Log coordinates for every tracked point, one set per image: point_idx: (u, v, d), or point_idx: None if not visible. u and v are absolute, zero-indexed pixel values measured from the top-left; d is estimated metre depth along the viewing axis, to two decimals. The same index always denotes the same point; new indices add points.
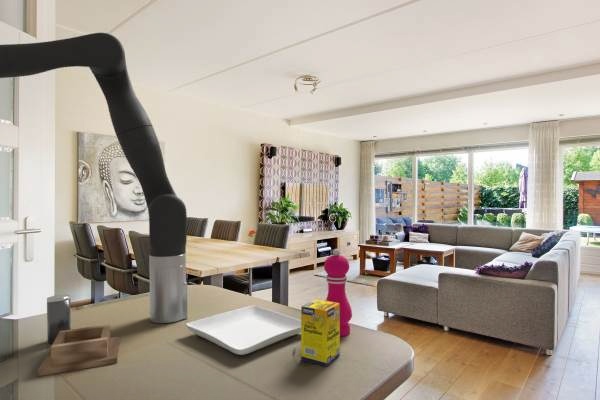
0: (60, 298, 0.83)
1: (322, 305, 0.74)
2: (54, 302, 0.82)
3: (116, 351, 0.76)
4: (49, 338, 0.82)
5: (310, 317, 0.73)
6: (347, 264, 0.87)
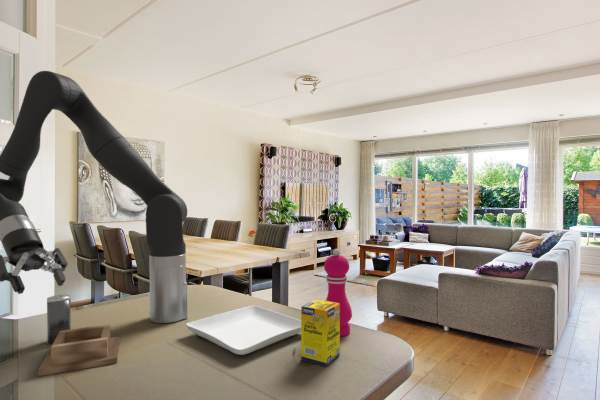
0: (60, 298, 0.83)
1: (322, 305, 0.74)
2: (54, 302, 0.82)
3: (116, 351, 0.76)
4: (49, 338, 0.82)
5: (310, 317, 0.73)
6: (347, 264, 0.87)
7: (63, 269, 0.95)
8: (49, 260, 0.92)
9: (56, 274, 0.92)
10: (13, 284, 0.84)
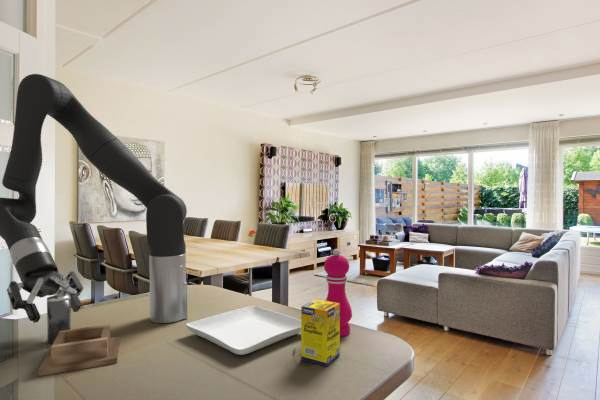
0: (60, 298, 0.83)
1: (322, 305, 0.74)
2: (54, 302, 0.82)
3: (116, 351, 0.76)
4: (49, 338, 0.82)
5: (310, 317, 0.73)
6: (347, 264, 0.87)
7: (78, 294, 0.92)
8: (65, 285, 0.89)
9: (71, 300, 0.89)
10: (28, 312, 0.81)
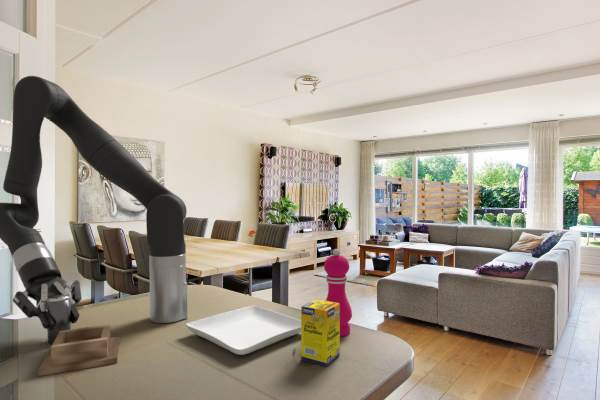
0: (60, 298, 0.83)
1: (322, 305, 0.74)
2: (54, 302, 0.82)
3: (116, 351, 0.76)
4: (49, 338, 0.82)
5: (310, 317, 0.73)
6: (347, 264, 0.87)
7: (76, 304, 0.89)
8: (65, 293, 0.87)
9: None
10: (42, 320, 0.81)
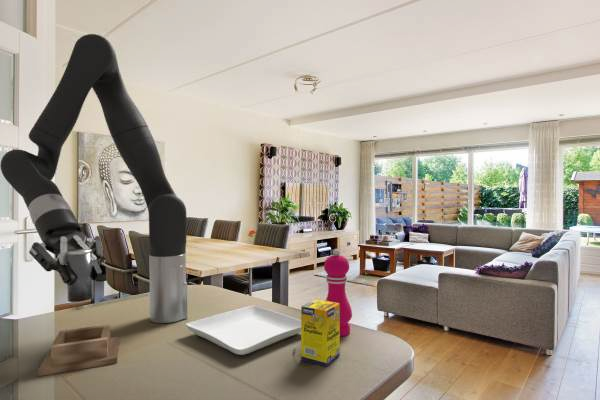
0: (81, 251, 0.75)
1: (322, 305, 0.74)
2: (75, 255, 0.74)
3: (116, 351, 0.76)
4: (69, 295, 0.74)
5: (310, 317, 0.73)
6: (347, 264, 0.87)
7: (98, 261, 0.81)
8: (85, 248, 0.79)
9: None
10: (62, 274, 0.73)
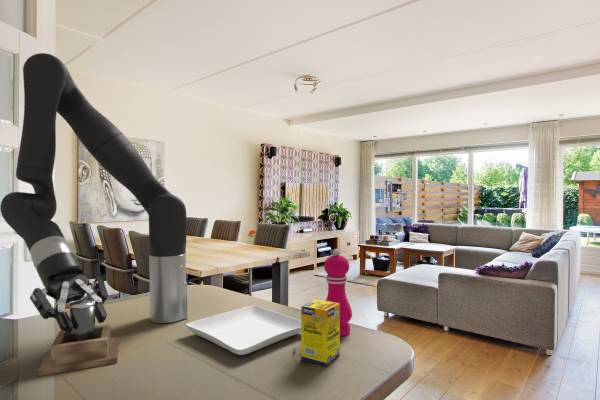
0: (85, 304, 0.75)
1: (322, 305, 0.74)
2: (78, 308, 0.74)
3: (116, 351, 0.76)
4: None
5: (310, 317, 0.73)
6: (347, 264, 0.87)
7: (103, 302, 0.81)
8: (90, 291, 0.79)
9: (96, 309, 0.78)
10: (60, 322, 0.72)
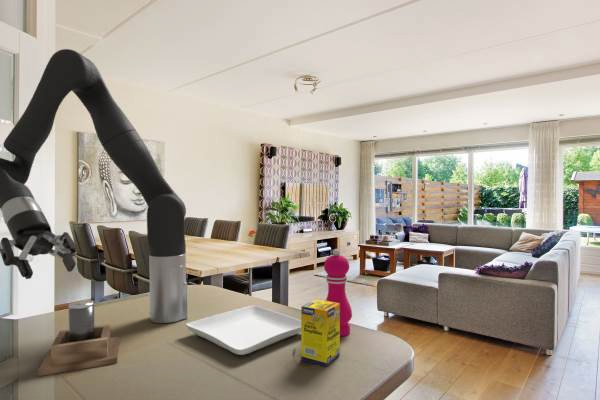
0: (83, 304, 0.75)
1: (322, 305, 0.74)
2: (77, 309, 0.74)
3: (116, 351, 0.76)
4: None
5: (310, 317, 0.73)
6: (347, 264, 0.87)
7: (72, 254, 0.89)
8: (58, 244, 0.87)
9: (65, 259, 0.87)
10: (20, 268, 0.79)
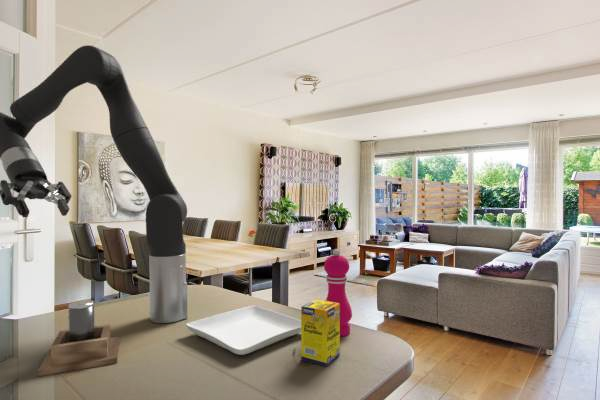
0: (83, 304, 0.75)
1: (322, 305, 0.74)
2: (77, 309, 0.74)
3: (116, 351, 0.76)
4: None
5: (310, 317, 0.73)
6: (347, 264, 0.87)
7: (67, 201, 0.96)
8: (53, 190, 0.93)
9: (60, 204, 0.93)
10: (18, 207, 0.85)
